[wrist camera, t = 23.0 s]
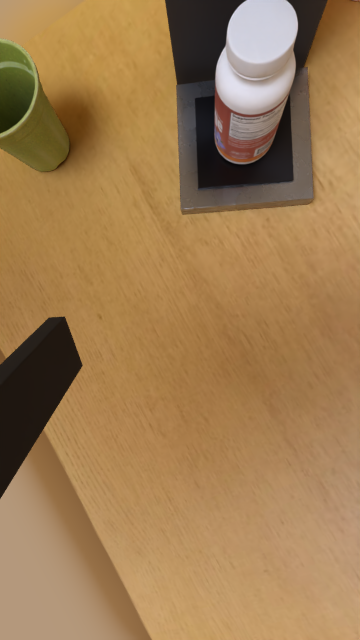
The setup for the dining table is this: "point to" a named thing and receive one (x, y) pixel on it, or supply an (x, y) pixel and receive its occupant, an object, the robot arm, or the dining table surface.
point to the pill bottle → (254, 78)
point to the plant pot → (28, 113)
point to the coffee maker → (223, 34)
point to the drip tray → (243, 179)
